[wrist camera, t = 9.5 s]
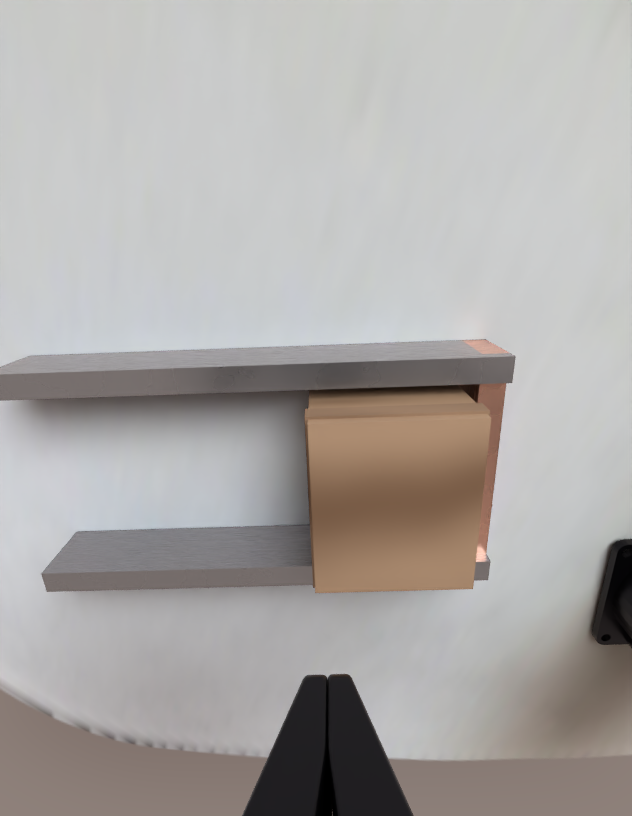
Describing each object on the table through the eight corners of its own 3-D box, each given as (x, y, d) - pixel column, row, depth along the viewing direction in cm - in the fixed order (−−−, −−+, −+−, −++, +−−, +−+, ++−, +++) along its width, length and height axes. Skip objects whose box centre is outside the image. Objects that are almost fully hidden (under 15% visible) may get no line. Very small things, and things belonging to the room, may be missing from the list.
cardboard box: (440, 515, 21) (475, 590, 17) (313, 519, 22) (313, 595, 17) (451, 373, 19) (494, 415, 14) (307, 378, 19) (304, 421, 14)
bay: (466, 537, 22) (487, 580, 19) (81, 548, 22) (46, 591, 20) (485, 339, 19) (515, 356, 16) (29, 355, 19) (-22, 375, 16)
